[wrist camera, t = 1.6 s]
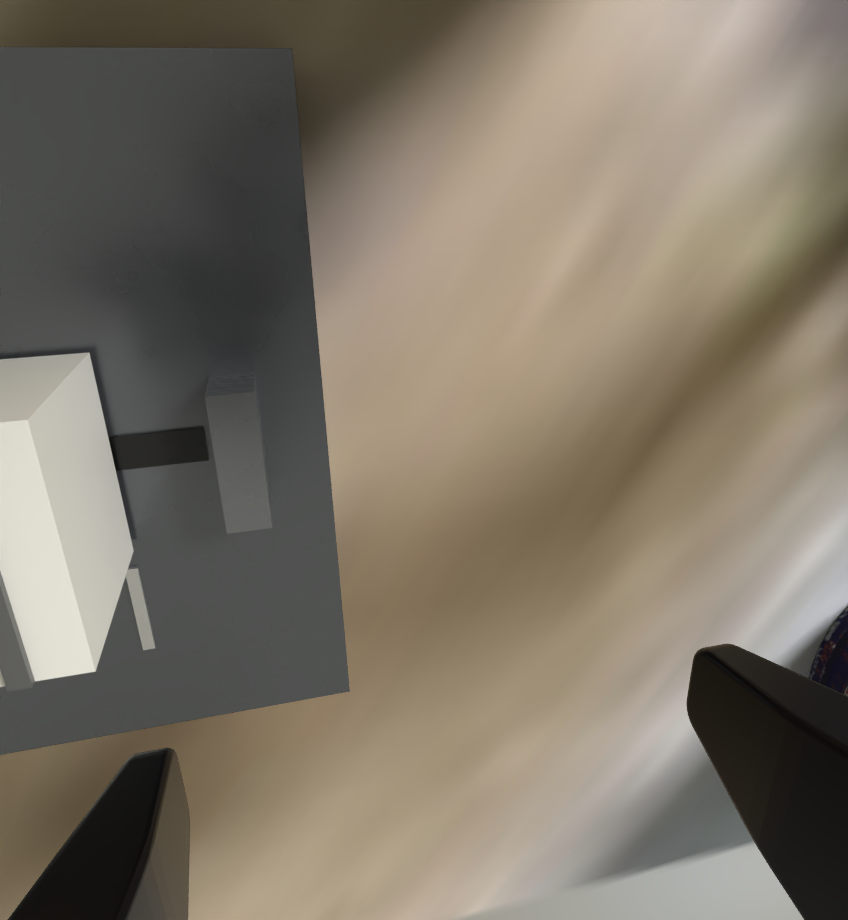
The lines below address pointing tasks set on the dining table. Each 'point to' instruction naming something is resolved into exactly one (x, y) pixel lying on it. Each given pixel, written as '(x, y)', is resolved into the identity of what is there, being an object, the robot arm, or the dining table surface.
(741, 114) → the dining table surface
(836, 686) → the storage jar
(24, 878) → the dining table surface
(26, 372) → the fader
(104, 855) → the robot arm
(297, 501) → the console
